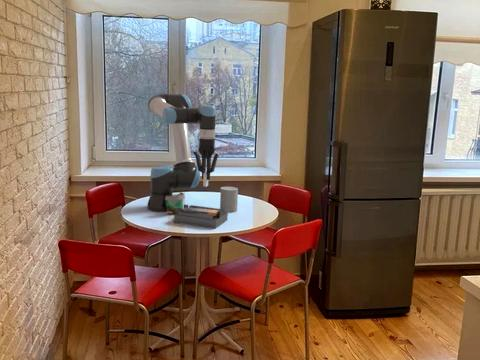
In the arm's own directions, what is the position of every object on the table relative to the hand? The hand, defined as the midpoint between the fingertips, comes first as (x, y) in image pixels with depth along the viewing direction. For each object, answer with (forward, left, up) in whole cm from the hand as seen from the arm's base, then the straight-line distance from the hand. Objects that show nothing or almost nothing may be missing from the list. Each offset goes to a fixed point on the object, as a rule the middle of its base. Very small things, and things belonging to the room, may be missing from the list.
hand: (205, 186), depth 232 cm
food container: (-19, +8, -18) cm, 28 cm away
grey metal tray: (-2, 0, -18) cm, 18 cm away
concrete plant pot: (+3, +26, -18) cm, 32 cm away
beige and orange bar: (-2, 0, -14) cm, 14 cm away
